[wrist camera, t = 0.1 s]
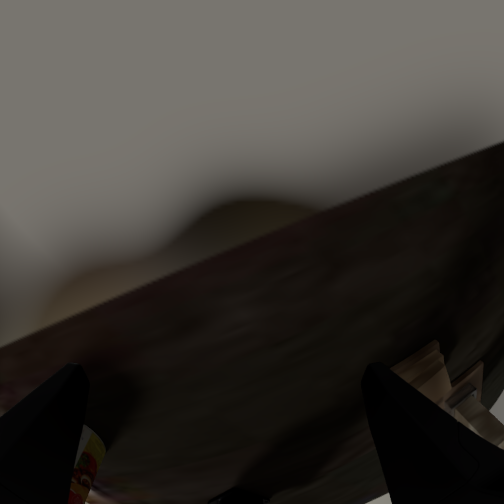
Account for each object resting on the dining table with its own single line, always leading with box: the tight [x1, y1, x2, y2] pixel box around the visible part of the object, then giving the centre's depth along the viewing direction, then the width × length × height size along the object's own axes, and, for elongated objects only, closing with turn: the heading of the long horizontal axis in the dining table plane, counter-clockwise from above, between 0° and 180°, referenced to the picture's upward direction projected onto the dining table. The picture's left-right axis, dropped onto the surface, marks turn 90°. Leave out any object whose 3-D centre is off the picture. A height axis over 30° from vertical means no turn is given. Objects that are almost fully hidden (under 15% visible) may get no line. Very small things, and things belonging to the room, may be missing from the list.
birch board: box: [454, 396, 504, 450], centre depth 22 cm, size 3×5×11 cm, turn 25°
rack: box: [389, 340, 484, 417], centre depth 26 cm, size 14×19×3 cm
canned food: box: [68, 425, 106, 504], centre depth 20 cm, size 8×8×12 cm
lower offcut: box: [398, 350, 444, 383], centre depth 25 cm, size 6×5×2 cm
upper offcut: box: [409, 359, 452, 403], centre depth 24 cm, size 5×4×2 cm
